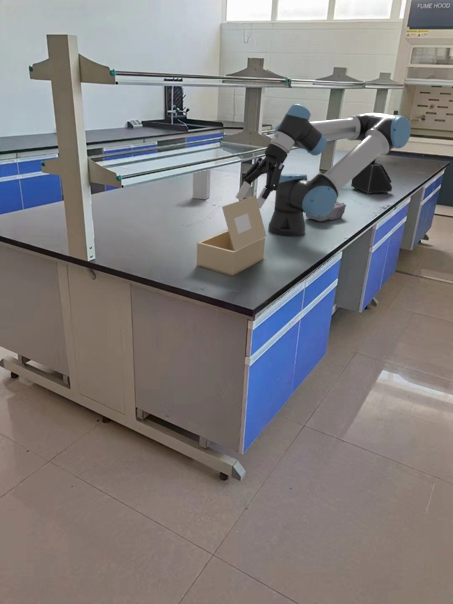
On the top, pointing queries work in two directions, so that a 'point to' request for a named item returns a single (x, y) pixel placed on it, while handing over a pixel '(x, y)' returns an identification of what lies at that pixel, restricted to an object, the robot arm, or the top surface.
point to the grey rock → (331, 213)
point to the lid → (244, 222)
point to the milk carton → (201, 184)
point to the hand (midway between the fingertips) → (247, 202)
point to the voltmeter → (372, 179)
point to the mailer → (228, 254)
